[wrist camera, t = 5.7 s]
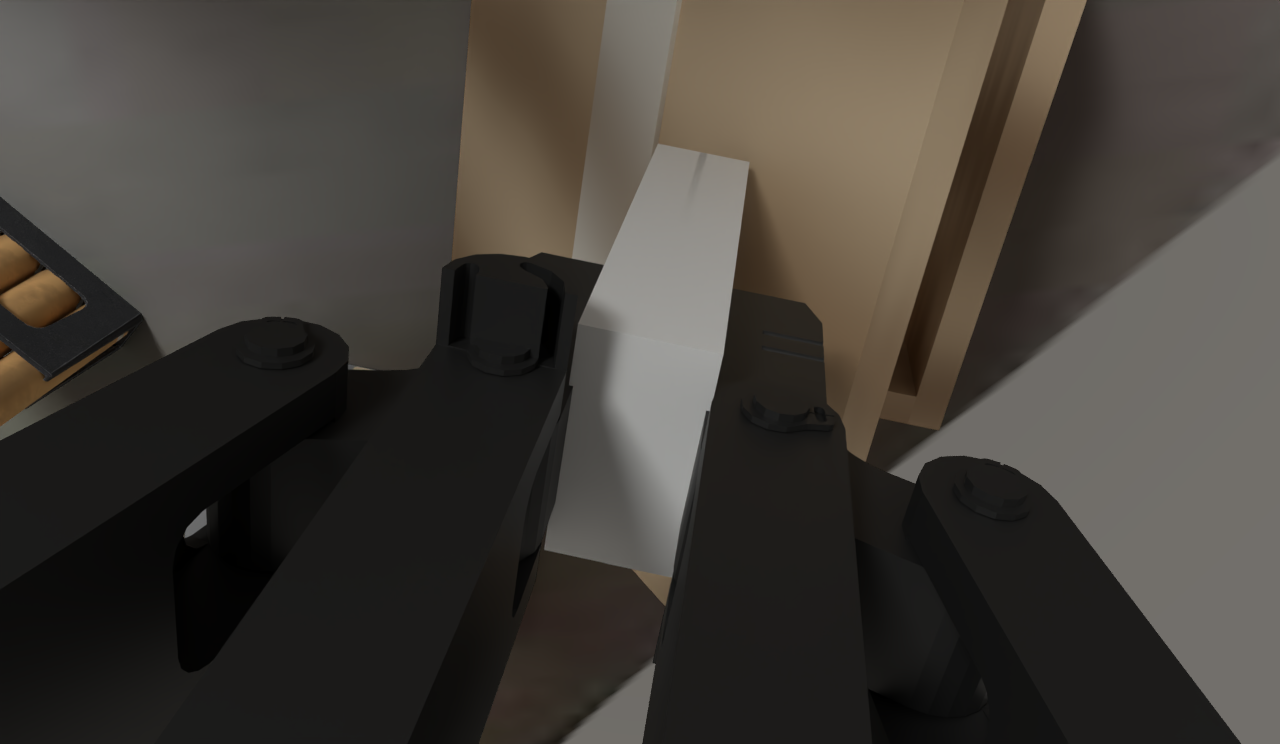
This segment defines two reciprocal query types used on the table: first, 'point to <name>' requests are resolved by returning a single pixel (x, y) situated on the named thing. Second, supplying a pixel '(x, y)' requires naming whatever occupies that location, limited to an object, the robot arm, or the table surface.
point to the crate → (980, 205)
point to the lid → (735, 146)
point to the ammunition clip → (50, 315)
